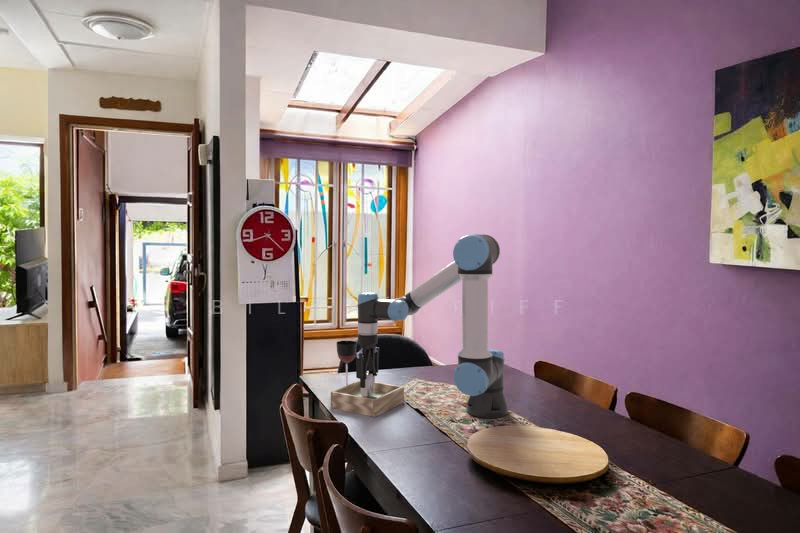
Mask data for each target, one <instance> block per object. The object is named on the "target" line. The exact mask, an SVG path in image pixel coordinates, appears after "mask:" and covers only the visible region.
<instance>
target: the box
mask: <svg viewBox="0 0 800 533" xmlns="http://www.w3.org/2000/svg"><path fill="white" fill-rule="evenodd" d="M404 402H405V386H402V385H395V384H390V383H384V382H377V381H375V383H374V393H373V399H371V398H365V397H362V396H361V387H360V379H359V380H358V381H355V382H352V383H349V384H348V385H347V386H346V385H345V386H343V387H340V388H338V389H335V390H332V391H330V408H332V409H334V410H335V409H336V410H340V411H345V412H350V413H355V414H359V415H363V416H369V417H375V418H376V417H378V416H380V415H382V414H384V413H385V412H387V411H389V410H391V409H393V408H395V407H397V406H399V405H401V404H403V403H404Z"/></svg>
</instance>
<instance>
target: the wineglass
mask: <svg viewBox="0 0 800 533" xmlns="http://www.w3.org/2000/svg"><path fill="white" fill-rule="evenodd" d="M357 344H358V341H355V340H340V341H339V340H338V341H336V352H337V357H338V358H339V359H338V360H340V361H341V362H343V363H344V364H345V386H347V385H349V384H348V383H349V382H348V378H349V377H348V376H349V375H348V371H349V370H348V369H349V367H348V366H349V363H351V362H352V361H353V360H354V359H356V357H355V353H357Z"/></svg>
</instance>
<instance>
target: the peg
mask: <svg viewBox="0 0 800 533" xmlns="http://www.w3.org/2000/svg"><path fill="white" fill-rule="evenodd" d="M366 379H368V396H367V397H366V396H362V397H365V398H371V399H373V373H369V371H368V372H367V375H366Z"/></svg>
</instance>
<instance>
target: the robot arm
mask: <svg viewBox="0 0 800 533" xmlns="http://www.w3.org/2000/svg"><path fill="white" fill-rule="evenodd" d="M500 254H501V248H500V245H499V242H498V241H497V240H496V239H495V238H494V237H493V236H491V235H488V234H478V233H476V234H475V233H472V234H471V233H470V234H467V235H464V236H462V237H460V238H459V239H458V240H457V241H456V242H455V244H454V247H453V250H452V256H453V261H452V262H450V263H449V264H448V265H447V266H444V267H443V268H442V269H440V270H439V271H438V272H436V273H434V275H431V276H430V277H429V278H428V279H426V280H425V281H423V282H422V283H420V284H419V285H418V286H416V287H415V288H413V289H412V290H410V291H409V292H407V293H406V294H405V295H403V296H399V297H397V298H390V299H389V298H388V299H387V298H384V299H383V298H379V296H378V293H377V292H365V291H364V292H360V293H359V294H358V297H357V304H356V306H357V333H358V334H357V344H358V345H359V351H358V352H356V353H355V369H356V370H355V376H356V379H359V380H360V387H361V396H366V397H367V396H368V379H366V375H367V371H368V373H373V393H374V383H375V382H376V381H375V379H376V378H375V377H377V376H378V373H379V359H380V349H381V348H380V347H377V346H376V345H377V344H378V339H379V338H378V337H379V336H378V334H377V333H378V332H379V326H378V320H387V321H394V322H397V321H400V322H402V321H405V320H406V318H407V317H408V316H412V315H414V314H416V313H417V312H418V311H419V310H420V309H421V308H424V306H426V305H427V304H428V303H430V302H431V301H433V300H435V299H436V298H437V297H439V296H441V295H442V294H443V293H445V292H447V291H448V290H449V289H451V288H452V287H454V286H456V285H458V284H459V283H461V284H462V286H461V287H462V291H461V292H462V295H461V297H462V298H461V299H462V302H461V303H462V309H461V310H462V311H461V313H462V317H461V319H462V320H461V321H462V323H461V324H462V326H461V327H462V336H461V337H462V339H461V340H462V341H461V342H462V343H461V344H462V347H461V348H462V349H461V350H460V351H459V352H458V353H457V366H456V367H455V369H454V371H453V375H452V376H453V381H454V385H455V387H456V388H457V389H458V390H459V391H460V392H461V393H462V394H464V395H466V396H468V398H467V402H466V413H467V414H469V415H471V416H474V417H478V418H483V419H497V418H503V417H505V416H508V414H509V405H508V401H507V398H506V394H505V391H504V390H505V389H504V388H505V386H504V385H505V379H504V377H505V358H504V357H505V354H504V352H503V351H502V350H500V349H495V348H489V344H488V342H489V340H488V339H489V334H488V332H489V330H488V329H489V321H488V320H489V314H488V313H489V311H488V310H489V308H488V307H489V300H488V299H489V294H488V293H489V291H488V290H489V289H488V288H489V286H488V285H489V279H490V277H492V275H493V265H494V264H496V262H497V261H498V260H499V258H500Z"/></svg>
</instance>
